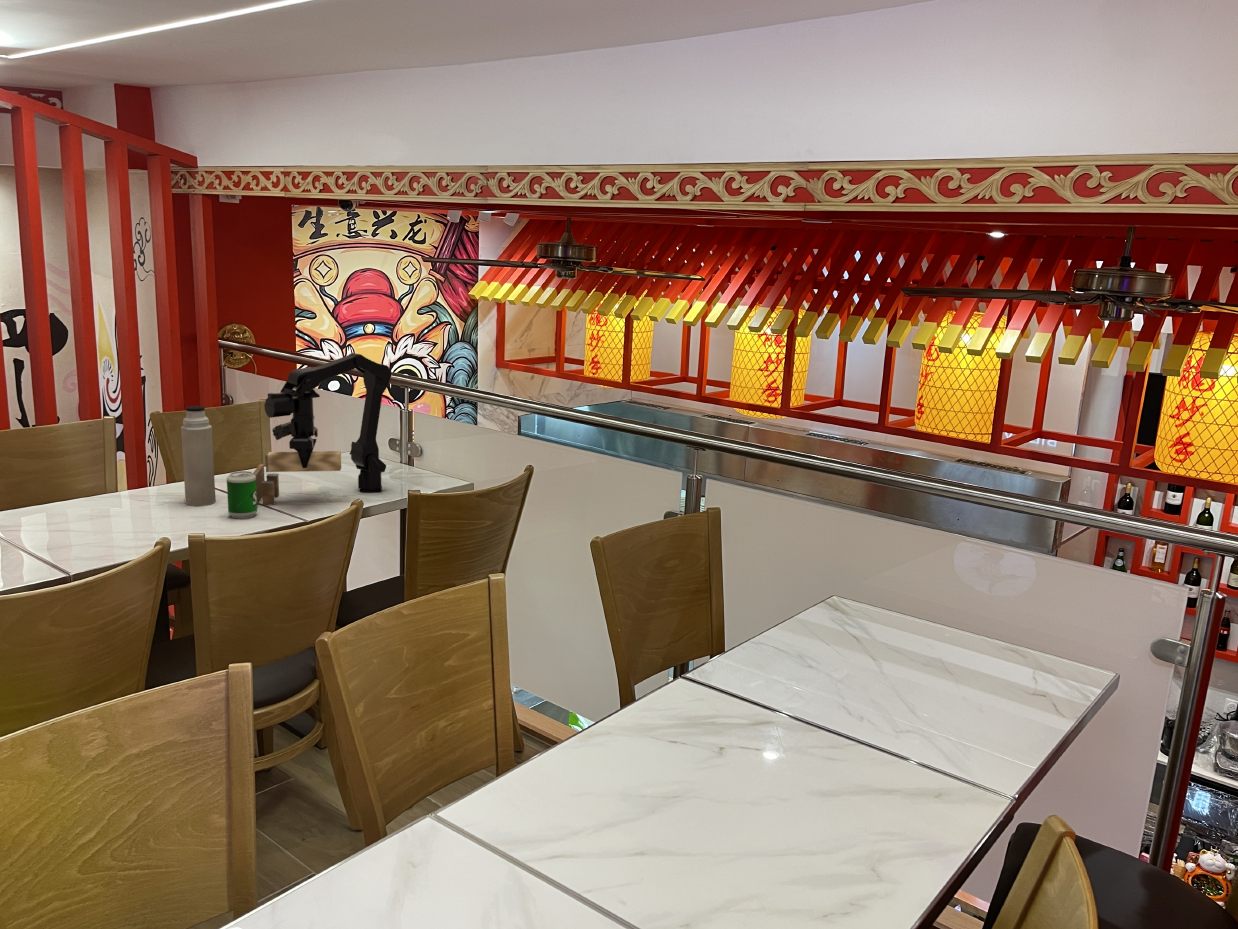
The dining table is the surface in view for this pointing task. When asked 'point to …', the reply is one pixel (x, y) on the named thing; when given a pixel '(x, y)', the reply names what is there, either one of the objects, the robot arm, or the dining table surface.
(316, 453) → the rail
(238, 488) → the soda can
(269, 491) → the headboard
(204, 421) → the thermos bottle
